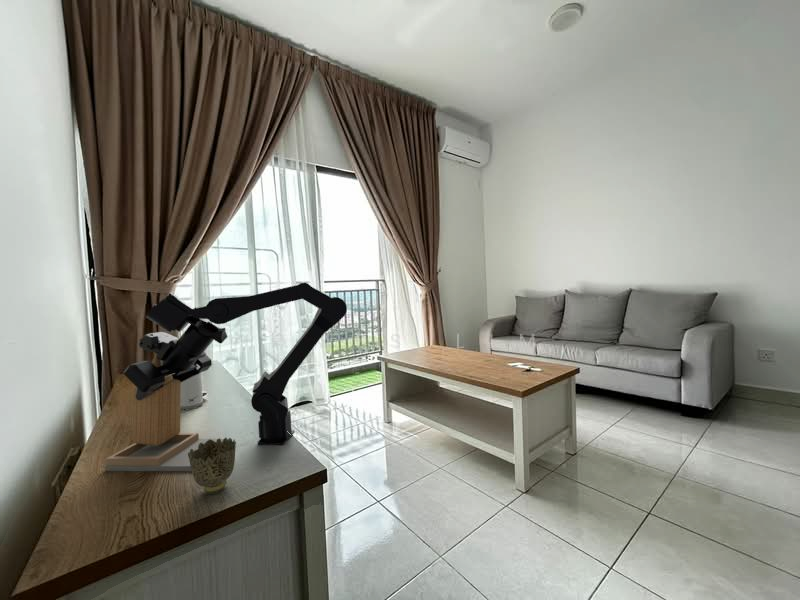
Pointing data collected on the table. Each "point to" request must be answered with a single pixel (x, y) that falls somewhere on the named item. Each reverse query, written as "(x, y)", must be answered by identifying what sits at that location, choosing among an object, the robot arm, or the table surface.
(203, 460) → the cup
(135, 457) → the display stand
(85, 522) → the table surface
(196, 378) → the travel mug
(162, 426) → the decorative item
